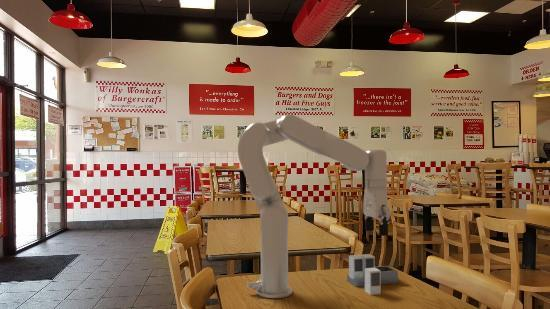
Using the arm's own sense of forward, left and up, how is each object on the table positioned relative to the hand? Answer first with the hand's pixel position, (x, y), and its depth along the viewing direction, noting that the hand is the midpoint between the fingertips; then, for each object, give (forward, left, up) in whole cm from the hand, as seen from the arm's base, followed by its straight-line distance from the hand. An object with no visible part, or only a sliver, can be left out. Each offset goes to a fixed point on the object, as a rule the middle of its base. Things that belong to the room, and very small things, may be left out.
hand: (376, 232), depth 143 cm
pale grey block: (-3, -2, -20) cm, 21 cm away
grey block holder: (+3, +9, -20) cm, 22 cm away
